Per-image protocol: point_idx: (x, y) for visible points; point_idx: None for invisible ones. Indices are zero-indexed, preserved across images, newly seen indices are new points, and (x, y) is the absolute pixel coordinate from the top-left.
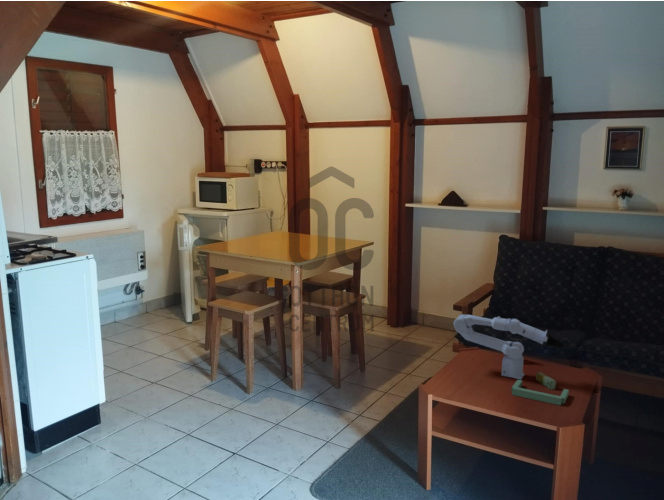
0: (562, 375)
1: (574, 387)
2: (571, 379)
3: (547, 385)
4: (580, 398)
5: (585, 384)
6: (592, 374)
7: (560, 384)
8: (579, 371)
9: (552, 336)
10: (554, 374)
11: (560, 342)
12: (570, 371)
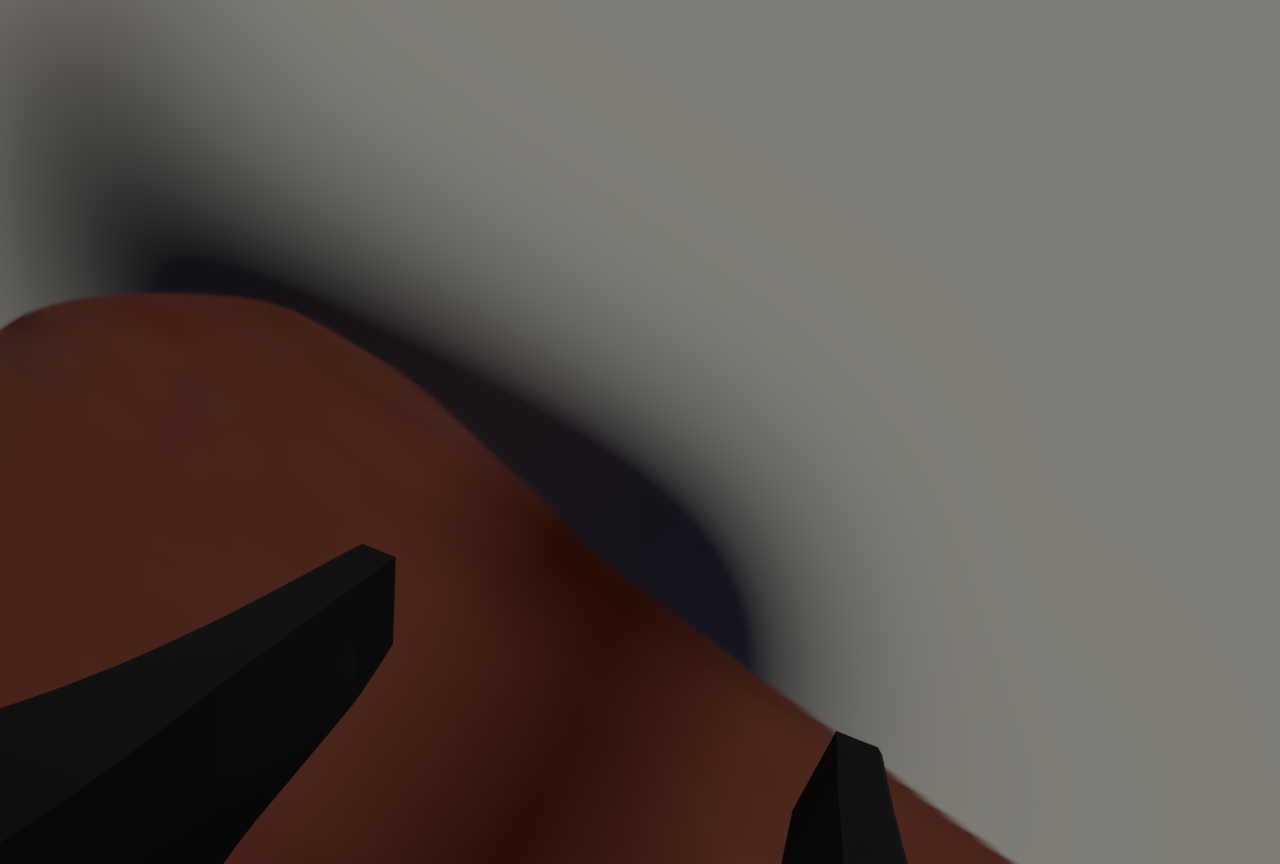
0: None
1: (597, 716)
2: None
3: None
4: None
5: (518, 547)
6: (258, 324)
7: (498, 859)
8: (123, 385)
9: (23, 832)
10: None
11: (901, 858)
12: (80, 479)
